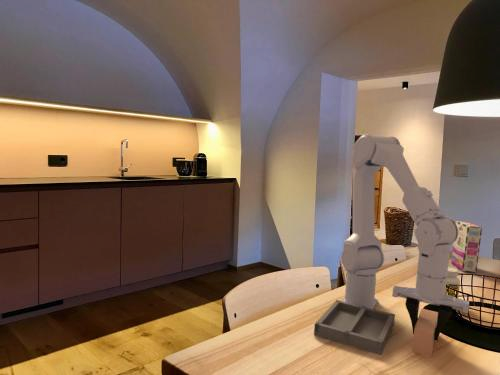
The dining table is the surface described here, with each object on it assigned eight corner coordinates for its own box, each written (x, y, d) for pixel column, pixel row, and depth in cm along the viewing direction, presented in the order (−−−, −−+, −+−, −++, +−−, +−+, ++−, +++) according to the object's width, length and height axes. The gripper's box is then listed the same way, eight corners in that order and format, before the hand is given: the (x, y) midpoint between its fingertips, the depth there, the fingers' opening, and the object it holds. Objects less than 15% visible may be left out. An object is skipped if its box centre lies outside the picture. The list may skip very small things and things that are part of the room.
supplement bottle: (447, 309, 101) (451, 273, 100) (430, 301, 105) (434, 266, 104) (461, 306, 103) (465, 271, 102) (444, 299, 108) (448, 265, 107)
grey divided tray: (335, 309, 97) (336, 300, 96) (394, 324, 90) (395, 314, 90) (313, 334, 83) (314, 323, 82) (381, 354, 76) (382, 342, 76)
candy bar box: (477, 273, 134) (483, 227, 132) (462, 272, 134) (467, 226, 133) (464, 264, 145) (469, 221, 143) (450, 262, 145) (455, 220, 144)
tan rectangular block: (419, 329, 88) (421, 308, 88) (436, 333, 86) (438, 312, 86) (412, 351, 78) (414, 328, 77) (430, 357, 76) (433, 333, 75)
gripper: (392, 272, 81) (386, 333, 82) (471, 287, 74) (463, 354, 75) (397, 264, 87) (392, 321, 88) (471, 277, 80) (464, 339, 81)
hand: (425, 335), depth 82 cm, fingers closed on tan rectangular block, 3 cm apart
